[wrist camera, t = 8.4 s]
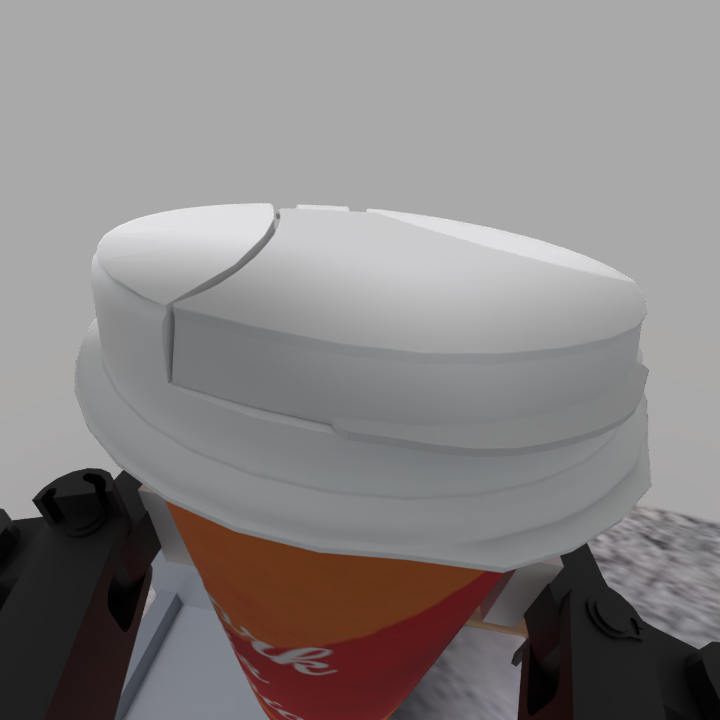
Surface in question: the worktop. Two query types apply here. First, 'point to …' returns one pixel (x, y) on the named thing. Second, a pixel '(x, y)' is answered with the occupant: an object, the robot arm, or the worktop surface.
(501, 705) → the worktop surface
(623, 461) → the coffee cup
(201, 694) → the port dock
